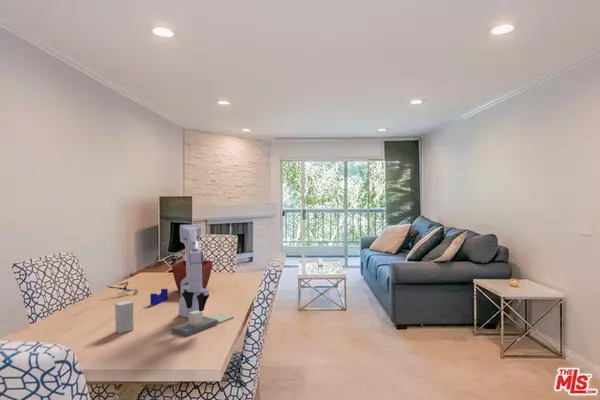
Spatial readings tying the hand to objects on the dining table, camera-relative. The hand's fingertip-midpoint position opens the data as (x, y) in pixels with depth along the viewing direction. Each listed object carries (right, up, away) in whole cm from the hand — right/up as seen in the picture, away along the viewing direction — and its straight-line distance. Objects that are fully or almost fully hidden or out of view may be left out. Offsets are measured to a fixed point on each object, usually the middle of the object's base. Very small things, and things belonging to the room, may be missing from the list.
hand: (195, 309), depth 170 cm
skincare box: (-30, -9, -3) cm, 31 cm away
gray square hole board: (0, -8, 0) cm, 8 cm away
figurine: (-56, -8, +55) cm, 78 cm away
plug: (0, -8, 0) cm, 8 cm away
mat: (+8, -8, +13) cm, 17 cm away
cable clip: (-31, -8, +41) cm, 52 cm away
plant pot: (-19, -7, +66) cm, 69 cm away
